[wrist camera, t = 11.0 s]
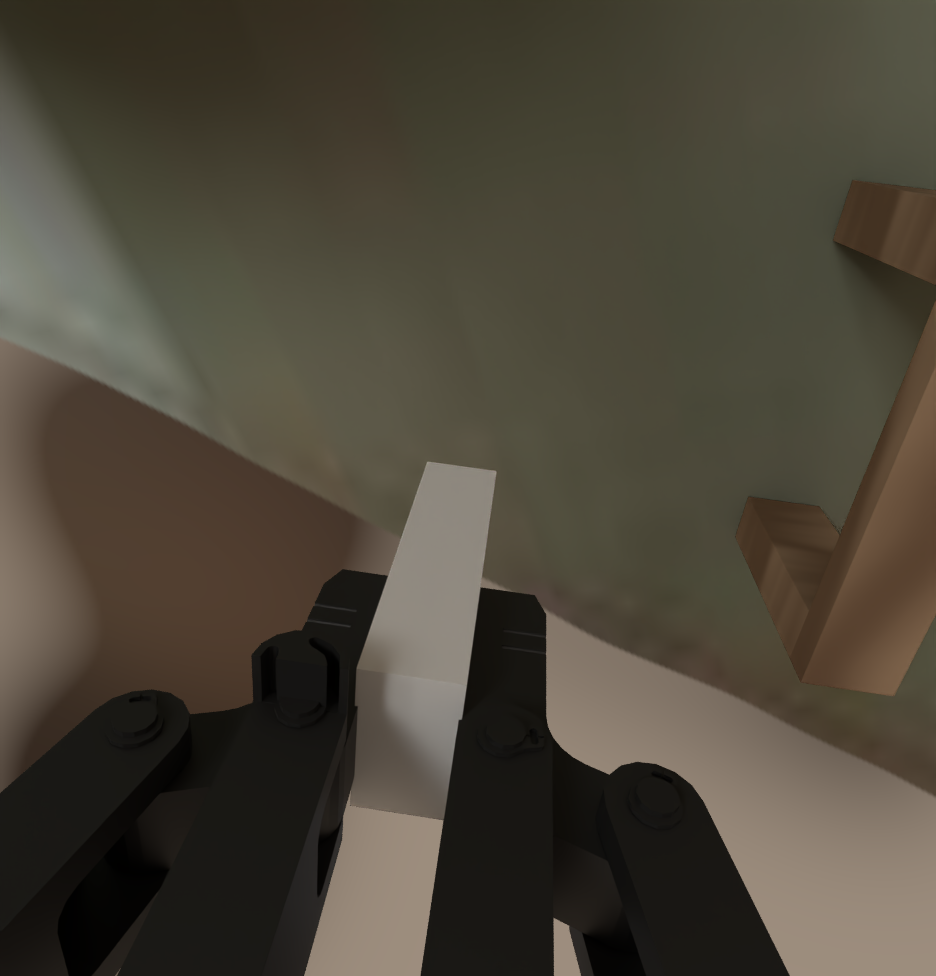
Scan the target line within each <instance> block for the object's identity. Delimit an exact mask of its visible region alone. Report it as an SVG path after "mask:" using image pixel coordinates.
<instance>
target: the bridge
mask: <svg viewBox="0 0 936 976" xmlns="http://www.w3.org/2000/svg"><path fill="white" fill-rule="evenodd" d="M833 241H836V242H838V243H840V244H842V245H845V246H847V247H849V248H852V249H854V250H856V251H858V252H861V253H863V254H865V255H868V256H870V257H872V258H874V259H877V260H879V261H881V262H884V263H886V264H888V265H890V266H893V267H895V268H897V269H900V270H902V271H904V272H906V273H909V274H911V275H913V276H916V277H918V278H920V279H923V280H925V281H927V282H929V283H932V284H934V285H936V190H929V189H921V188H913V187H905V186H897V185H889V184H881V183H872V182H864V181H856V180H852V183H851V186H850V189H849V193H848V196H847V199H846V202H845V205H844V208H843V211H842V214H841V217H840V220H839V223H838V226H837V229H836V232H835V235H834V238H833ZM735 537H736V539H737V542H738V544H739V546H740V548H741V550H742V553H743V555H744V557H745V559H746V562H747V564H748V566H749V568H750V571H751V573H752V575H753V577H754V579H755V582H756V584H757V586H758V588H759V591H760V593H761V595H762V597H763V600H764V602H765V604H766V606H767V608H768V611H769V613H770V615H771V617H772V620H773V622H774V624H775V626H776V628H777V631H778V633H779V635H780V637H781V640H782V642H783V644H784V646H785V649H786V651H787V653H788V655H789V657H790V660H791V662H792V664H793V666H794V669H795V671H796V673H797V675H798V677H799V680H800V682H801V683H807V684H814V685H821V686H828V687H835V688H841V689H848V690H855V691H862V692H868V693H875V694H882V695H889V696H894V695H895V693H896V691H897V689H898V687H899V685H900V683H901V681H902V680H903V678H904V676H905V674H906V672H907V670H908V668H909V666H910V664H911V662H912V660H913V658H914V656H915V654H916V652H917V650H918V648H919V646H920V644H921V642H922V640H923V638H924V636H925V635H926V633H927V631H928V629H929V627H930V625H931V623H932V621H933V619H934V617H935V615H936V301H935V303H934V306H933V308H932V311H931V313H930V316H929V318H928V320H927V323H926V325H925V328H924V330H923V333H922V335H921V338H920V340H919V343H918V345H917V347H916V350H915V352H914V355H913V357H912V360H911V362H910V365H909V367H908V369H907V372H906V374H905V377H904V379H903V382H902V384H901V387H900V389H899V392H898V394H897V396H896V399H895V401H894V404H893V406H892V409H891V411H890V414H889V416H888V418H887V421H886V423H885V426H884V428H883V431H882V433H881V436H880V438H879V441H878V443H877V445H876V448H875V450H874V453H873V455H872V458H871V460H870V463H869V465H868V467H867V470H866V472H865V475H864V477H863V480H862V482H861V485H860V487H859V490H858V492H857V494H856V497H855V499H854V502H853V504H852V507H851V509H850V512H849V514H848V517H847V519H846V521H845V524H844V526H843V529H842V531H841V534H840V535H839V534H838V532H837V531H836V530H835V528H834V527H833V525H832V524H831V522H830V521H829V520H828V518H827V517H826V515H825V514H824V512H823V511H822V510H821V508H820V507H819V506H811V505H804V504H797V503H790V502H783V501H775V500H768V499H761V498H754V497H748V499H747V502H746V506H745V509H744V512H743V515H742V518H741V521H740V524H739V527H738V530H737V533H736V536H735Z"/></svg>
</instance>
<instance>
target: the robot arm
mask: <svg viewBox="0 0 936 976" xmlns="http://www.w3.org/2000/svg"><path fill="white" fill-rule="evenodd" d="M495 478H496V471H492V470H485V469H478V468H471V467H464V466H457V465H449V464H442V463H435V462H428V461H427V464H426V467H425V470H424V473H423V476H422V479H421V482H420V484H419V487H418V490H417V493H416V496H415V499H414V502H413V505H412V508H411V511H410V514H409V517H408V520H407V522H406V525H405V528H404V531H403V534H402V537H401V540H400V543H399V546H398V549H397V552H396V555H395V558H394V560H393V564H392V566H391V569H390V572H389V575H388V576H385V575H378V574H371V573H364V572H358V571H351V570H344V569H343V570H341V571H340V572H339V573H337V574H336V575H335V576H334V577H332V578H331V579H330V580H328V581H327V582H326V583H325V584H324V585H323V587H322V589H321V591H320V593H319V596H318V598H317V600H316V602H315V606H313V608H312V610H311V612H310V615H309V617H308V620H307V622H306V623H305V625H304V627H303V629H302V631H297V630H296V631H291V632H287V633H283V634H279V635H276V636H274V637H272V638H270V639H268V640H267V641H265V642H263V643H261V645H260V646H259V647H258V648H257V649H256V650H255V652H254V653H253V654H252V678H253V703H251V704H248V705H245V706H242V707H239V708H236V709H231V710H225V711H219V712H209V713H199V714H190V713H189V712H188V710H187V707H186V706H185V704H184V702H183V701H182V700H181V699H179V698H177V697H176V696H174V695H173V694H171V693H168V692H162V691H157V690H145V691H134V692H130V693H127V694H124V695H121V696H118V697H115V698H112V699H111V700H109V701H108V702H106V703H105V704H103V705H102V706H100V707H99V708H97V709H95V710H94V711H93V712H92V713H91V714H90V715H89V716H87V717H86V718H85V719H84V720H83V721H82V722H81V723H79V724H78V725H77V726H76V727H75V728H74V729H73V730H71V731H70V732H69V733H68V734H67V735H66V736H65V737H63V738H62V739H61V740H60V741H59V742H58V743H57V744H56V745H55V746H53V747H52V748H51V749H50V750H49V751H48V752H46V753H45V754H44V755H43V756H42V757H41V758H40V759H39V760H37V761H36V762H35V763H34V764H33V765H32V766H31V767H29V768H28V769H27V770H26V771H25V772H24V773H23V774H21V775H20V776H19V777H18V778H17V779H16V780H15V781H14V782H12V783H11V784H10V785H9V786H8V787H7V788H5V789H4V790H3V791H2V792H1V793H0V976H115V975H116V973H117V972H118V971H119V969H120V968H121V969H120V971H119V973H118V975H117V976H304V974H305V971H306V967H307V963H308V960H309V956H310V953H311V949H312V945H313V942H314V938H315V934H316V931H317V928H318V924H319V920H320V916H321V913H322V910H323V906H324V902H325V898H326V895H327V892H328V888H329V884H330V881H331V877H332V873H333V870H334V866H335V863H336V859H337V855H338V852H339V848H340V845H341V841H342V830H343V815H344V811H345V808H346V804H347V801H348V797H349V794H350V790H351V798H350V806H356V807H363V808H369V809H375V810H382V811H388V812H394V813H401V814H407V815H413V816H420V817H427V818H433V819H439V820H444V821H443V829H442V835H441V841H440V848H439V855H438V862H437V868H436V875H435V882H434V889H433V895H432V902H431V910H430V916H429V922H428V929H427V936H426V943H425V950H424V956H423V963H422V970H421V976H554V942H553V941H554V938H553V937H554V936H553V935H554V933H553V918H555V919H557V920H560V921H561V922H563V923H565V924H567V925H569V929H570V934H571V938H572V942H573V946H574V949H575V953H576V957H577V961H578V965H579V969H580V973H581V976H790V975H789V973H788V971H787V969H786V967H785V965H784V963H783V961H782V959H781V957H780V956H779V953H778V951H777V949H776V947H775V945H774V943H773V941H772V939H771V937H770V935H769V933H768V931H767V929H766V927H765V925H764V923H763V921H762V919H761V917H760V915H759V913H758V911H757V909H756V907H755V905H754V903H753V901H752V899H751V897H750V895H749V893H748V891H747V889H746V887H745V885H744V883H743V881H742V879H741V876H740V874H739V873H738V870H737V868H736V866H735V864H734V862H733V860H732V859H731V856H730V854H729V852H728V851H727V848H726V846H725V844H724V842H723V840H722V838H721V836H720V834H719V832H718V830H717V828H716V826H715V824H714V822H713V820H712V818H711V816H710V814H709V812H708V810H707V808H706V806H705V804H704V802H703V800H702V799H701V797H700V796H699V795H698V793H697V792H696V790H695V789H694V788H693V786H692V785H691V784H690V783H688V782H687V781H686V780H684V779H683V778H682V777H681V776H679V775H678V774H677V773H675V772H673V771H671V770H669V769H666V768H664V767H662V766H659V765H657V764H650V763H641V762H635V763H631V764H626V765H622V766H620V767H619V768H617V769H616V770H615V771H614V772H612V773H611V774H610V775H609V774H606V773H604V772H602V771H600V770H597V769H595V768H592V767H590V766H588V765H586V764H584V763H582V762H580V761H579V760H577V759H575V758H573V757H572V756H571V755H569V754H568V753H567V752H566V751H564V750H563V749H562V748H561V747H560V746H559V744H558V743H557V742H556V741H555V739H554V738H553V737H552V735H551V732H550V730H549V728H548V724H547V719H546V613H545V612H544V610H543V608H542V607H541V605H540V603H539V602H538V600H537V598H536V597H535V595H529V594H522V593H516V592H509V591H502V590H495V589H488V588H481V587H480V586H481V579H482V572H483V565H484V558H485V550H486V543H487V536H488V529H489V522H490V514H491V507H492V500H493V493H494V486H495Z"/></svg>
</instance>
